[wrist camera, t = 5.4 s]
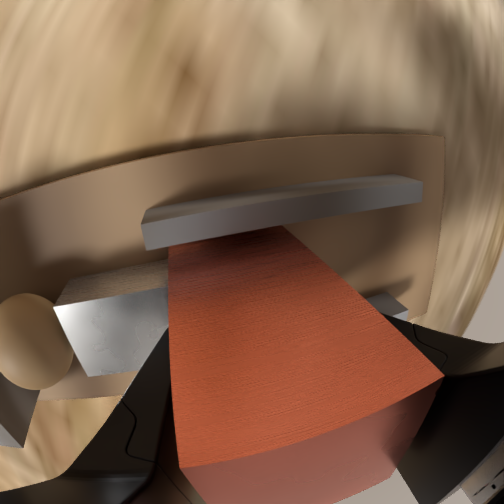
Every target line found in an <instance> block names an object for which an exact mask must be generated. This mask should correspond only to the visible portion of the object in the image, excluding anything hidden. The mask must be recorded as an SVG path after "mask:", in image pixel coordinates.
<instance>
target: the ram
mask: <svg viewBox="0 0 504 504" xmlns="http://www.w3.org/2000/svg"><path fill="white" fill-rule="evenodd" d="M53 308H54V310H55V312H56V314H57V317H58V319H59V321H60V323H61V325H62V328H63V330H64V332H65V334H66V336H67V338H68V340H69V342H70V344H71V346H72V348H73V350H74V352H75V354H76V356H77V358H78V359H79V361H80V363H81V365H82V367H83V368H84V370H85V372H86V374H87V376H88V377H91V376H100V375H108V374H116V373H124V372H131V371H138V370H140V368H141V367H142V365H143V364H144V362H145V360H146V359H147V357H148V356H149V354H150V353H151V351H152V350H153V348H154V347H155V345H156V344H157V342H158V341H159V339H160V338H161V336H162V335H163V333H164V332H165V330H166V329H167V328H168V327H169V351H170V371H171V387H172V400H173V412H174V423H175V433H176V442H177V451H178V459H179V466H180V469H181V471H182V472H183V474H184V475H185V476H186V478H187V479H188V480H189V482H190V483H191V484H192V486H193V487H194V488H195V490H196V491H197V492H198V494H199V495H200V496H201V497H202V499H203V500H204V501H205V502H206V504H333V503H335V502H338V501H341V500H343V499H345V498H348V497H350V496H352V495H355V494H357V493H359V492H361V491H364V490H366V489H368V488H370V487H372V486H374V485H376V484H378V483H380V482H382V481H384V480H386V479H388V478H390V476H391V475H392V473H393V472H394V470H395V469H396V467H397V466H398V464H399V462H400V461H401V459H402V458H403V456H404V454H405V453H406V451H407V449H408V448H409V446H410V444H411V443H412V441H413V439H414V437H415V435H416V434H417V432H418V430H419V428H420V426H421V424H422V423H423V421H424V419H425V417H426V415H427V413H428V411H429V409H430V407H431V405H432V403H433V400H434V398H435V396H436V394H437V392H438V390H439V387H440V385H441V383H442V380H443V378H444V376H445V375H444V374H443V373H442V372H441V371H440V370H439V369H438V368H437V367H436V366H435V365H434V364H432V363H431V362H430V361H429V360H428V359H427V358H426V357H425V356H424V355H423V354H422V353H421V352H420V351H419V350H418V349H417V348H416V347H415V346H414V345H413V344H412V343H411V342H410V341H409V340H408V339H407V338H406V337H405V336H404V335H403V334H402V333H401V332H400V331H399V330H397V329H396V328H395V327H394V326H393V325H392V324H391V323H390V322H389V321H388V320H387V319H386V318H385V317H384V316H383V315H382V314H381V313H379V312H378V311H377V310H376V309H375V308H374V307H373V306H372V305H371V304H370V303H369V302H368V301H367V300H365V299H364V298H363V297H362V296H361V295H360V294H359V293H358V292H357V291H356V290H355V289H353V288H352V287H351V286H350V285H349V284H348V283H347V282H346V281H345V280H344V279H342V278H341V277H340V276H339V275H338V274H337V273H336V272H335V271H334V270H332V269H331V268H330V267H329V266H328V265H327V264H326V263H325V262H323V261H322V260H321V259H320V258H319V257H318V256H317V255H316V254H314V253H313V252H312V251H311V250H310V249H309V248H308V247H306V246H305V245H304V244H303V243H302V242H301V241H300V240H298V239H297V238H296V237H295V236H294V235H293V234H292V233H290V232H289V231H288V230H287V229H286V228H285V227H283V226H282V225H279V226H273V227H268V228H262V229H257V230H251V231H246V232H240V233H235V234H230V235H224V236H219V237H214V238H208V239H203V240H198V241H193V242H188V243H183V244H177V245H172V246H169V255H168V259H167V260H162V261H156V262H151V263H146V264H141V265H136V266H131V267H126V268H121V269H117V270H112V271H107V272H102V273H97V274H92V275H87V276H82V277H77V278H72V279H70V280H69V281H68V283H67V285H66V286H65V288H64V290H63V291H62V293H61V295H60V296H59V298H58V300H57V302H56V303H55V305H54V307H53Z"/></svg>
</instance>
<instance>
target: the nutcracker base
mask: <svg viewBox="0 0 504 504" xmlns="http://www.w3.org/2000/svg"><path fill="white" fill-rule="evenodd" d="M444 172H445V137H442V136H434V135H422V134H389V133H362V134H328V135H309V136H294V137H282V138H271V139H261V140H251V141H243V142H235V143H227V144H220V145H213V146H206V147H200V148H194V149H188V150H182V151H176V152H171V153H165V154H160V155H155V156H150V157H145V158H141V159H136V160H131V161H127V162H123V163H118V164H114V165H110V166H106V167H102V168H98V169H94V170H90V171H87V172H83V173H79V174H76V175H72V176H69V177H65V178H62V179H59V180H55V181H52V182H49V183H46V184H43V185H39V186H36V187H33V188H30V189H27V190H25V191H22V192H19V193H16V194H13V195H10V196H8V197H5V198H2V199H0V445H1V446H8V447H16V448H24V444H25V440H26V436H27V432H28V428H29V425H30V421H31V418H32V415H33V411H34V408H35V405H36V402H37V401H41V400H68V399H84V398H96V397H107V396H117V395H124V393H125V391H126V390H127V388H128V387H129V385H130V384H131V382H132V380H133V379H134V377H135V376H136V374H137V373H138V371H139V370H138V371H131V372H124V373H116V374H108V375H100V376H91V377H88V376H87V374H86V372H85V370H84V368H83V367H82V365H81V363H80V361H79V359H78V358H77V356H76V354H75V352H74V350H73V348H72V346H71V344H70V342H69V340H68V338H67V336H66V334H65V332H64V330H63V328H62V325H61V323H60V321H59V319H58V317H57V314H56V312H55V310H54V308H53V307H54V305H55V303H56V302H57V300H58V298H59V296H60V295H61V293H62V291H63V290H64V288H65V286H66V285H67V283H68V281H69V280H70V279H72V278H77V277H82V276H87V275H92V274H97V273H102V272H107V271H112V270H117V269H121V268H126V267H131V266H136V265H141V264H146V263H151V262H156V261H162V260H167V259H168V255H169V246H172V245H177V244H183V243H188V242H193V241H198V240H203V239H208V238H214V237H219V236H224V235H230V234H235V233H240V232H246V231H251V230H257V229H262V228H268V227H273V226H279V225H282V226H283V227H285V228H286V229H287V230H288V231H289V232H290V233H292V234H293V235H294V236H295V237H296V238H297V239H298V240H300V241H301V242H302V243H303V244H304V245H305V246H306V247H308V248H309V249H310V250H311V251H312V252H313V253H314V254H316V255H317V256H318V257H319V258H320V259H321V260H322V261H323V262H325V263H326V264H327V265H328V266H329V267H330V268H331V269H332V270H334V271H335V272H336V273H337V274H338V275H339V276H340V277H341V278H342V279H344V280H345V281H346V282H347V283H348V284H349V285H350V286H351V287H352V288H353V289H355V290H356V291H357V292H358V293H359V294H360V295H361V296H362V297H363V298H364V299H365V300H367V301H368V302H369V303H370V304H371V305H372V306H373V307H374V308H375V309H376V310H377V311H378V312H381V313H384V314H387V315H390V316H392V317H395V318H398V319H401V320H404V321H408V320H411V319H413V318H415V317H418V316H420V315H422V314H425V313H426V312H427V308H428V303H429V299H430V294H431V289H432V284H433V278H434V272H435V266H436V260H437V253H438V246H439V238H440V230H441V220H442V209H443V195H444Z"/></svg>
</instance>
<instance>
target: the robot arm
mask: <svg viewBox="0 0 504 504" xmlns="http://www.w3.org/2000/svg"><path fill="white" fill-rule="evenodd" d="M379 313H381V312H379ZM381 314H382V315H383V316H384V317H385V318H386V319H387V320H388V321H389V322H390V323H391V324H392V325H393V326H394V327H395V328H396V329H397V330H399V331H400V332H401V333H402V334H403V335H404V336H405V337H406V338H407V339H408V340H409V341H410V342H411V343H412V344H413V345H414V346H415V347H416V348H417V349H418V350H419V351H420V352H421V353H422V354H423V355H424V356H425V357H426V358H427V359H428V360H429V361H430V362H431V363H432V364H434V365H435V366H436V367H437V368H438V369H439V370H440V371H441V372H442V373H443V374H444V375H445V376H444V378H443V380H442V383H441V385H440V387H439V390H438V392H437V394H436V396H435V398H434V400H433V403H432V405H431V407H430V409H429V411H428V413H427V415H426V417H425V419H424V421H423V423H422V424H421V426H420V428H419V430H418V432H417V434H416V435H415V437H414V439H413V441H412V443H411V444H410V446H409V448H408V449H407V451H406V453H405V454H404V456H403V458H402V459H401V461H400V462H399V464H398V466H397V467H396V468H397V469H398V471H399V472H400V474H401V476H402V477H403V479H404V480H405V482H406V484H407V485H408V487H409V488H410V490H411V492H412V493H413V495H414V496H415V498H416V500H417V501H418V503H419V504H440V503H441V502H442V501H444V500H445V499H447V498H448V497H449V496H451V495H452V494H453V493H455V492H456V491H457V490H459V489H460V488H462V490H463V491H464V492H465V494H466V495H467V497H468V498H469V499H470V500H471V502H472V503H473V504H504V342H502V343H494V344H493V343H484V342H480V341H475V340H471V339H467V338H463V337H458V336H454V335H450V334H446V333H442V332H439V331H435V330H432V329H429V328H425V327H422V326H419V325H416V324H413V325H412V323H410V322H407V321H404V320H401V319H398V318H395V317H392V316H390V315H387V314H384V313H381ZM0 504H206V502H205V501H204V500H203V499H202V497H201V496H200V495H199V494H198V492H197V491H196V490H195V488H194V487H193V486H192V484H191V483H190V482H189V480H188V479H187V478H186V476H185V475H184V474H183V472H182V471H181V469H180V466H179V459H178V451H177V442H176V433H175V423H174V412H173V400H172V387H171V371H170V351H169V327H168V328H167V329H166V330H165V332H164V333H163V335H162V336H161V338H160V339H159V341H158V342H157V344H156V345H155V347H154V348H153V350H152V351H151V353H150V354H149V356H148V357H147V359H146V360H145V362H144V364H143V365H142V367H141V368H140V370H139V371H138V373H137V374H136V376H135V377H134V379H133V380H132V382H131V384H130V385H129V387H128V388H127V390H126V391H125V393H124V395H123V396H122V398H121V401H119V402H118V404H117V405H116V407H115V409H114V410H113V412H112V413H111V414H110V416H109V417H108V419H107V420H106V422H105V423H104V425H103V426H102V427H101V429H100V430H99V431H98V432H97V434H96V435H95V436H94V438H93V439H92V440H91V441H90V443H89V444H88V445H87V446H86V447H85V449H84V450H83V451H82V452H81V454H80V455H79V456H78V457H77V459H76V460H75V461H74V462H73V464H72V465H71V466H70V467H69V468H68V469H67V470H66V471H65V472H64V473H63V474H61V475H60V476H58V477H56V478H54V479H51V480H48V481H44V482H41V483H37V484H33V485H29V486H25V487H21V488H17V489H12V490H8V491H3V492H0Z"/></svg>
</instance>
